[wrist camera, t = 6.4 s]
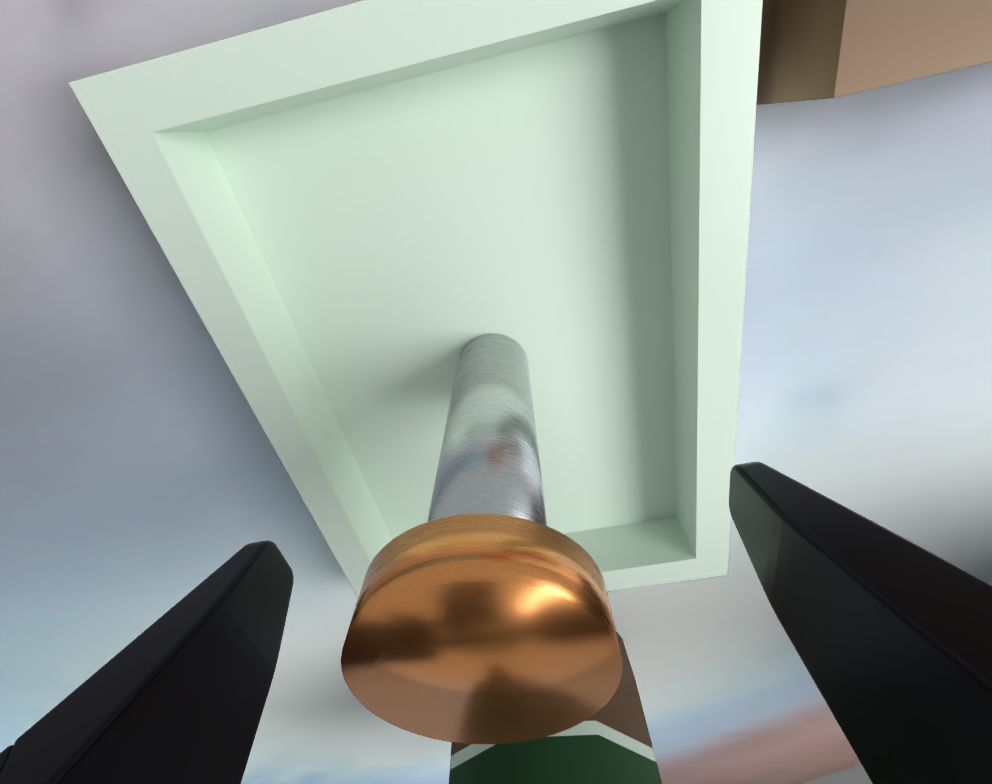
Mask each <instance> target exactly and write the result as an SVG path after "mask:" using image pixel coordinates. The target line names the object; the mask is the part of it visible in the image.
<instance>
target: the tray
mask: <svg viewBox="0 0 992 784" xmlns="http://www.w3.org/2000/svg"><path fill="white" fill-rule="evenodd" d="M762 4H763V0H363V1H359V2H356V3H352V4H349V5H345V6H341V7H338V8H334V9H331V10H327V11H323V12H320V13H316V14H313V15H309V16H306V17H302V18H298V19H295V20H291V21H288V22H284V23H280V24H277V25H273V26H270V27H266V28H263V29H259V30H255V31H252V32H248V33H245V34H241V35H237V36H234V37H230V38H227V39H223V40H219V41H216V42H212V43H209V44H205V45H202V46H198V47H194V48H191V49H187V50H184V51H180V52H176V53H173V54H169V55H166V56H162V57H159V58H155V59H151V60H148V61H144V62H141V63H137V64H133V65H130V66H126V67H123V68H119V69H115V70H112V71H108V72H105V73H101V74H98V75H94V76H90V77H87V78H83V79H80V80H76V81H72V82H69V84H70V86H71V88H72V89H73V91H74V93H75V95H76V97H77V98H78V100H79V102H80V104H81V105H82V107H83V109H84V111H85V113H86V114H87V116H88V118H89V120H90V122H91V123H92V125H93V127H94V129H95V130H96V132H97V134H98V136H99V138H100V139H101V141H102V143H103V145H104V146H105V148H106V150H107V152H108V154H109V155H110V157H111V159H112V161H113V162H114V164H115V166H116V168H117V170H118V171H119V173H120V175H121V177H122V178H123V180H124V182H125V184H126V186H127V187H128V189H129V191H130V193H131V195H132V196H133V198H134V200H135V202H136V203H137V205H138V207H139V209H140V211H141V212H142V214H143V216H144V218H145V219H146V221H147V223H148V225H149V227H150V228H151V230H152V232H153V234H154V235H155V237H156V239H157V241H158V243H159V244H160V246H161V248H162V250H163V252H164V253H165V255H166V257H167V259H168V260H169V262H170V264H171V266H172V268H173V269H174V271H175V273H176V275H177V276H178V278H179V280H180V282H181V284H182V285H183V287H184V289H185V291H186V292H187V294H188V296H189V298H190V300H191V301H192V303H193V305H194V307H195V309H196V310H197V312H198V314H199V316H200V317H201V319H202V321H203V323H204V325H205V326H206V328H207V330H208V332H209V333H210V335H211V337H212V339H213V341H214V342H215V344H216V346H217V348H218V349H219V351H220V353H221V355H222V357H223V358H224V360H225V362H226V364H227V366H228V367H229V369H230V371H231V373H232V374H233V376H234V378H235V380H236V382H237V383H238V385H239V387H240V389H241V390H242V392H243V394H244V396H245V398H246V399H247V401H248V403H249V405H250V406H251V408H252V410H253V412H254V414H255V415H256V417H257V419H258V421H259V423H260V424H261V426H262V428H263V430H264V431H265V433H266V435H267V437H268V439H269V440H270V442H271V444H272V446H273V447H274V449H275V451H276V453H277V455H278V456H279V458H280V460H281V462H282V463H283V465H284V467H285V469H286V471H287V472H288V474H289V476H290V478H291V479H292V481H293V483H294V485H295V487H296V488H297V490H298V492H299V494H300V496H301V497H302V499H303V501H304V503H305V504H306V506H307V508H308V510H309V512H310V513H311V515H312V517H313V519H314V520H315V522H316V524H317V526H318V528H319V529H320V531H321V533H322V535H323V536H324V538H325V540H326V542H327V544H328V545H329V547H330V549H331V551H332V553H333V554H334V556H335V558H336V560H337V561H338V563H339V565H340V567H341V569H342V570H343V572H344V574H345V576H346V577H347V579H348V581H349V583H350V585H351V586H352V588H353V590H354V592H355V593H356V595H357V597H359V594H360V591H361V587H362V584H363V581H364V578H365V575H366V572H367V570H368V567H369V565H370V564H371V562H372V560H373V559H374V557H375V556H376V555H377V554H378V553H379V551H380V550H381V549H382V548H383V547H384V546H385V545H386V544H388V543H389V542H390V541H391V540H393V539H394V538H395V537H397V536H399V535H400V534H402V533H404V532H405V531H407V530H409V529H411V528H414V527H416V526H418V525H420V524H423V523H426V522H427V521H428V515H429V510H430V505H431V500H432V494H433V489H434V484H435V479H436V473H437V468H438V463H439V458H440V452H441V447H442V442H443V436H444V431H445V426H446V421H447V415H448V410H449V405H450V400H451V394H452V389H453V384H454V378H455V373H456V368H457V363H458V358H459V355H460V352H461V350H462V349H463V347H464V346H465V345H466V344H467V343H468V342H469V341H470V340H472V339H473V338H475V337H477V336H480V335H483V334H489V333H497V334H502V335H506V336H508V337H510V338H512V339H514V340H515V341H517V342H518V343H519V344H520V345H521V347H522V348H523V349H524V351H525V353H526V355H527V359H528V366H529V374H530V383H531V392H532V400H533V409H534V417H535V426H536V435H537V443H538V452H539V461H540V469H541V478H542V487H543V495H544V504H545V513H546V521H547V526H548V527H550V528H552V529H555V530H557V531H559V532H561V533H562V534H564V535H566V536H567V537H569V538H571V539H572V540H573V541H575V542H576V543H577V544H579V545H580V546H581V547H582V548H583V549H584V550H585V551H586V552H587V553H588V554H589V555H590V556H591V557H592V558H593V560H594V561H595V563H596V564H597V565H598V567H599V569H600V571H601V574H602V576H603V579H604V583H605V587H606V591H607V592H608V591H615V590H623V589H630V588H637V587H644V586H651V585H659V584H666V583H673V582H680V581H687V580H694V579H702V578H709V577H716V576H723V575H728V559H729V543H730V527H731V513H730V509H729V487H730V472H731V469H732V467H733V466H734V461H735V445H736V429H737V412H738V396H739V380H740V363H741V347H742V331H743V314H744V298H745V282H746V265H747V249H748V232H749V216H750V200H751V183H752V167H753V151H754V134H755V118H756V102H757V85H758V69H759V53H760V36H761V20H762Z"/></svg>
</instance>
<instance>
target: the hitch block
mask: <svg viewBox="0 0 992 784" xmlns="http://www.w3.org/2000/svg"><path fill="white" fill-rule="evenodd" d="M990 61H992V0H763V4H762V20H761V36H760V53H759V69H758V85H757V102H756V105H759V104H770V103H782V102H793V101H804V100H816V99H827V98H836V97H840V96H844V95H848V94H853V93H857V92H861V91H866V90H870V89H874V88H879V87H883V86H887V85H891V84H896V83H900V82H904V81H909V80H913V79H917V78H921V77H926V76H930V75H934V74H939V73H943V72H947V71H952V70H956V69H960V68H964V67H969V66H973V65H977V64H982V63H986V62H990Z"/></svg>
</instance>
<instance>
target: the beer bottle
mask: <svg viewBox="0 0 992 784" xmlns="http://www.w3.org/2000/svg"><path fill="white" fill-rule="evenodd" d="M616 635H617V639H618V644H619V648H620V652H621V657H622V670H623V671H622V676H621V681H620V683H619V686H618V688H617V690H616V692H615V693H614V695H613V696H612V698H611V699H610V700H609V702H608V703H607V704H606V705H605V706H604V707H603V708H602V709H601V710H599V711H598V712H597V713H595V714H594V715H593V716H592V717H590V718H588V719H587V720H585V721H583V722H582V723H580V724H578V725H576V726H574V727H572V728H570V729H567V730H565V731H562V732H559V733H556V734H554V735H550V736H547V737H543V738H539V739H534V740H529V741H524V742H516V743H507V744H466V743H457V742H452V747H451V762H450V777H449V784H662V782H661V778H660V774H659V770H658V767H657V763H656V759H655V755H654V751H653V747H652V743H651V739H650V736H649V732H648V728H647V724H646V720H645V716H644V712H643V708H642V705H641V701H640V697H639V693H638V689H637V685H636V681H635V678H634V675H633V672H632V668H631V665H630V662H629V659H628V656H627V653H626V649H625V646H624V643H623V640H622V638H621V636H620V635H619V634H618V633H617V632H616Z"/></svg>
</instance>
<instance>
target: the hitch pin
mask: <svg viewBox="0 0 992 784" xmlns="http://www.w3.org/2000/svg"><path fill="white" fill-rule="evenodd" d="M341 666H342V672H343V676H344V679H345V681H346V683H347V685H348V687H349V689H350V690H351V692H352V693H353V694H354V696H355V697H356V698H357V699H358V700H359V701H360V702H361V703H362V704H363V705H364V706H365V707H366V708H367V709H369V710H370V711H371V712H373V713H374V714H375V715H377V716H378V717H380V718H382V719H384V720H385V721H387V722H389V723H391V724H393V725H395V726H397V727H399V728H402V729H404V730H407V731H410V732H412V733H415V734H419V735H422V736H426V737H429V738H434V739H438V740H443V741H449V742H457V743H466V744H507V743H516V742H524V741H529V740H534V739H539V738H543V737H547V736H550V735H554V734H556V733H559V732H562V731H565V730H567V729H570V728H572V727H574V726H576V725H578V724H580V723H582V722H583V721H585V720H587V719H588V718H590V717H592V716H593V715H594V714H595V713H597V712H598V711H599V710H601V709H602V708H603V707H604V706H605V705H606V704H607V703H608V702H609V700H610V699H611V698H612V696H613V695H614V693H615V692H616V690H617V688H618V686H619V683H620V681H621V676H622V671H623V670H622V657H621V652H620V648H619V644H618V639H617V635H616V631H615V626H614V622H613V617H612V613H611V609H610V604H609V600H608V596H607V591H606V587H605V583H604V579H603V576H602V574H601V571H600V569H599V567H598V565H597V564H596V563H595V561H594V560H593V558H592V557H591V556H590V555H589V554H588V553H587V552H586V551H585V550H584V549H583V548H582V547H581V546H580V545H579V544H577V543H576V542H575V541H573V540H572V539H571V538H569V537H567V536H566V535H564V534H562V533H561V532H559V531H557V530H555V529H552V528H550V527H548V526H547V521H546V513H545V504H544V495H543V487H542V478H541V469H540V461H539V452H538V443H537V435H536V426H535V417H534V409H533V400H532V392H531V383H530V374H529V366H528V359H527V355H526V353H525V351H524V349H523V348H522V347H521V345H520V344H519V343H518V342H517V341H515V340H514V339H512V338H510V337H508V336H506V335H502V334H497V333H489V334H483V335H480V336H477V337H475V338H473V339H472V340H470V341H469V342H468V343H467V344H466V345H465V346H464V347H463V349H462V350H461V352H460V355H459V358H458V363H457V368H456V373H455V378H454V384H453V389H452V394H451V400H450V405H449V410H448V415H447V421H446V426H445V431H444V436H443V442H442V447H441V452H440V458H439V463H438V468H437V473H436V479H435V484H434V489H433V494H432V500H431V505H430V510H429V515H428V521H427V522H426V523H423V524H420V525H418V526H416V527H414V528H411V529H409V530H407V531H405V532H404V533H402V534H400V535H399V536H397V537H395V538H394V539H393V540H391V541H390V542H389V543H388V544H386V545H385V546H384V547H383V548H382V549H381V550H380V551H379V553H378V554H377V555H376V556H375V557H374V559H373V560H372V562H371V564H370V565H369V567H368V570H367V572H366V575H365V578H364V581H363V584H362V587H361V591H360V594H359V597H358V600H357V604H356V607H355V610H354V614H353V617H352V620H351V623H350V627H349V630H348V633H347V636H346V640H345V643H344V646H343V650H342V656H341Z"/></svg>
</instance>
